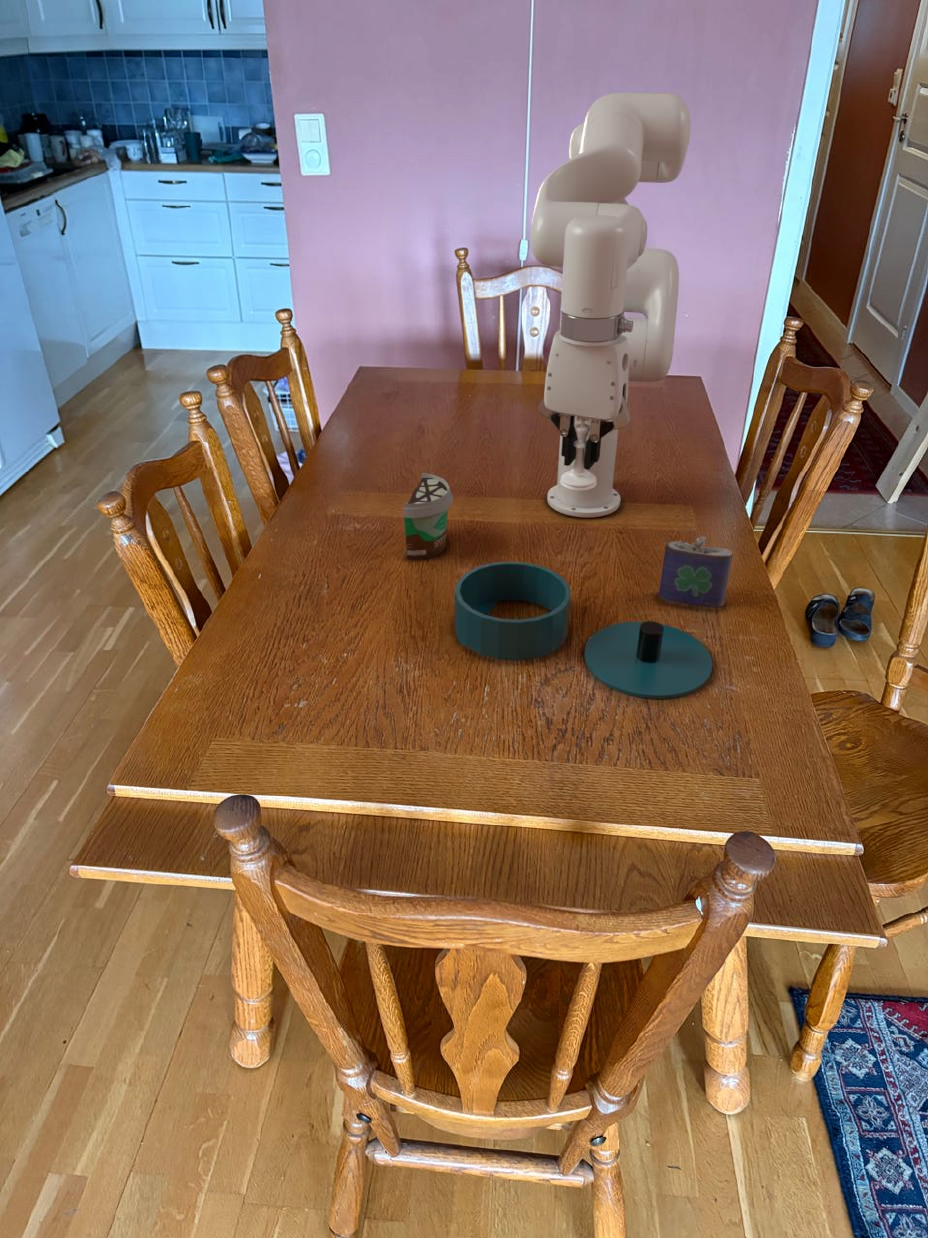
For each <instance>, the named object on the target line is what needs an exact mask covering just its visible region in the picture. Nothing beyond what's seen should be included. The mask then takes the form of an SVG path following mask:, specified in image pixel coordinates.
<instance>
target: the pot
mask: <svg viewBox="0 0 928 1238" xmlns="http://www.w3.org/2000/svg"><path fill="white" fill-rule="evenodd" d="M571 591H572V589H571V587H570V585H569V583H568V582H567V581H566V579H565V578H564V577H562V576H561V575H560V574H559V573H557V572H556V571H555V570H552V569H550V568H547V567H545V566H542V565H540V564H539V565H538V564H534V563H530V562H524V561H509V560H508V561H506V560H505V561H498V562H490V563H486V564H483V565H480V566H479V565H478V566H477V567H474V568H472V569H470V570H469V571H467V572H465V573H464V574H462V576H461V577H460V578H459V579H458V580H457V582H456V583H455V589H454V631H455V636H456V639H457V640H458V642H459V643H460V645H461V646H462V647H466V648H467V649H469V650H471V651H473V652H475V653H476V654H479V655H480V656H484V657H487V658H492V659H496V660H501V661H503V660H504V661H525V660H533V659H538V658H539V657H540V658H541V657H543V656H547V655H549V654H551V653H553V652H554V651H555V650H557V649H559V648H560V647H561V646H562V645H563V644H564V642H565V641H566V639H567V638H568V637H569V635H568V634H569V624H570V612H571V601H572V600H571V598H572V597H571V596H572V594H571ZM507 600H509V601H523V602H528V603H530V604H531V603H532V604H535V605H538V606H541V607H543V608H545V609H547V610H549V611H550V612H548V613H545V614H542V615H538V616H535V617H530V618H522V619H513V618H500V617H496V616H491V615H489V614H490V613H491V611H492V610H493V608H494V607H495V606H496V604H498V602H499V601H507Z"/></svg>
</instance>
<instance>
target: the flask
mask: <svg viewBox="0 0 928 1238" xmlns="http://www.w3.org/2000/svg"><path fill="white" fill-rule="evenodd" d="M707 540H708V538H707V536H703V535H701V536H700V537H696V541H694V542H692V543H688V542H682V540H681V539H680V540H677V541H675V540H674V541H669V542H667V543H666V545H665V547H664V554H663V562H662V569H661V576H660V583H659V590H658V597H659V598H660V599H661V600H663V601H666V602H672V603H676V604H680V605H687V606H694V607H704V608H721V607H723V606H724V604H725V599H726V594H727V588H728V583H729V575H730V570H731V565H732V559H733V552H732V551H731V550H730V549H729V548H725V547H711V546H706V541H707Z"/></svg>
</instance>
